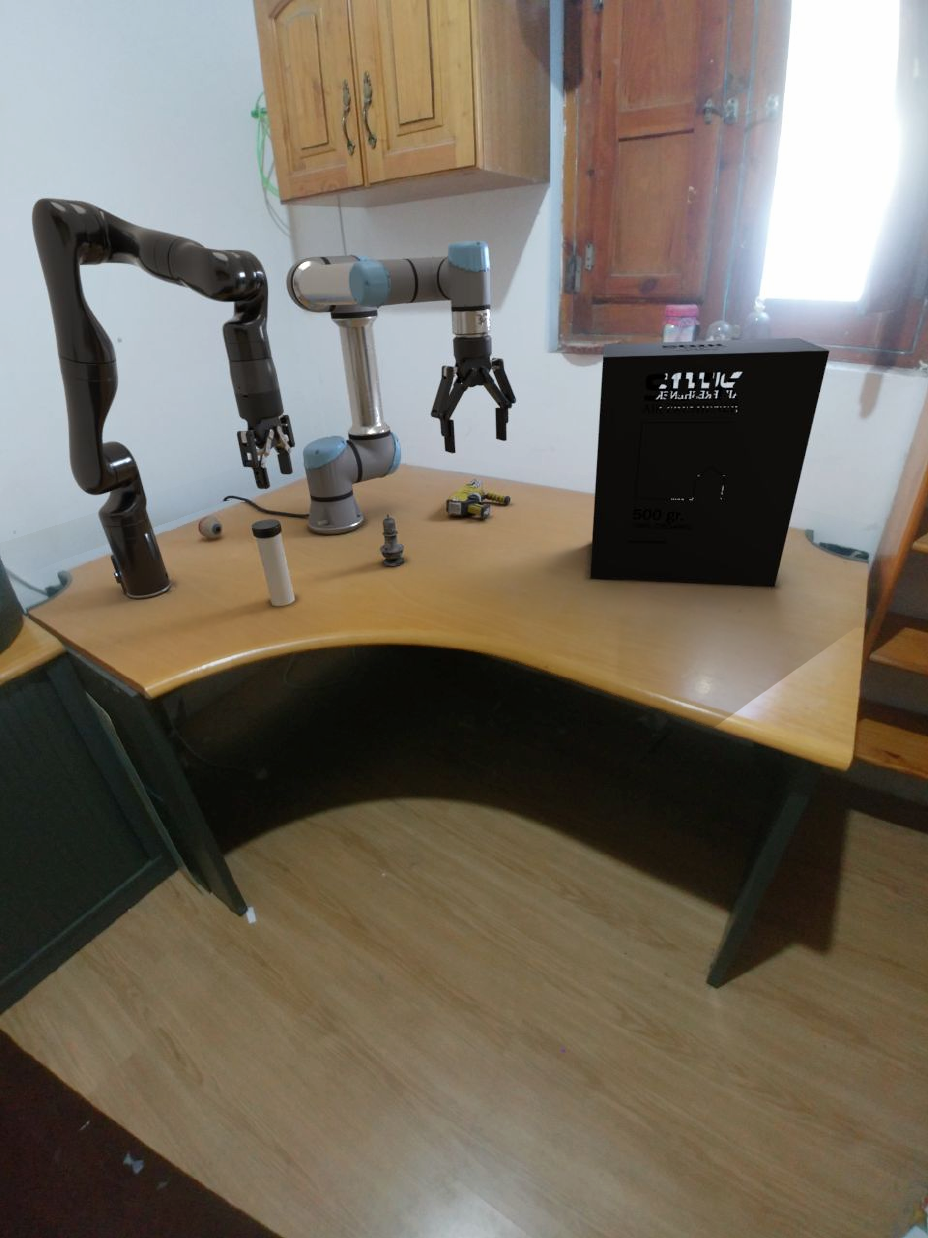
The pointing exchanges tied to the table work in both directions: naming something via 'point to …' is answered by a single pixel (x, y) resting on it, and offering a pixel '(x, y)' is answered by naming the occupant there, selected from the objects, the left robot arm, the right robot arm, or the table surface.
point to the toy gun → (473, 500)
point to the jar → (276, 570)
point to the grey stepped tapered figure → (391, 544)
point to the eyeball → (210, 527)
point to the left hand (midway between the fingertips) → (275, 480)
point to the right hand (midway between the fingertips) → (476, 445)
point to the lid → (266, 528)
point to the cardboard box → (701, 458)
